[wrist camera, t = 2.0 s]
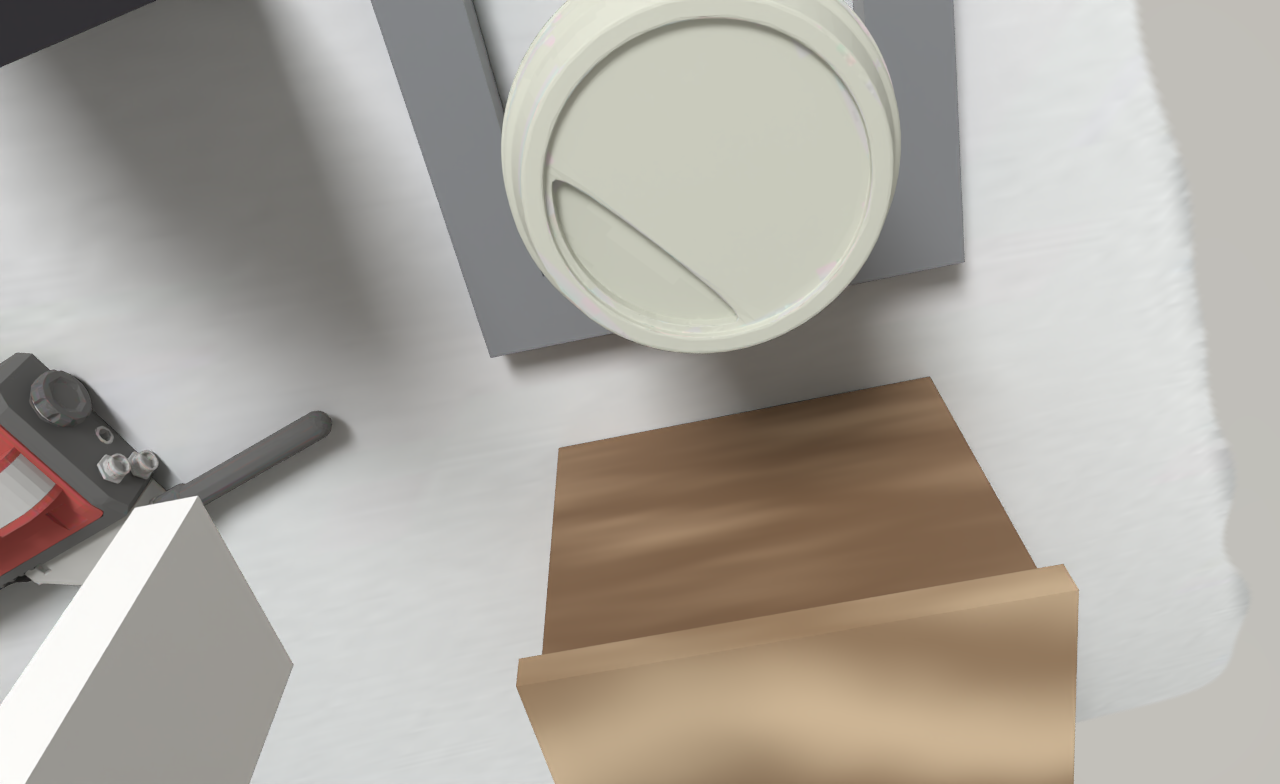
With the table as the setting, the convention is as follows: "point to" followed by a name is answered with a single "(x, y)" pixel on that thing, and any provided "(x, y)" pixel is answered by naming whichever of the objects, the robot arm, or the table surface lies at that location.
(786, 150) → the coffee cup
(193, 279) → the table surface
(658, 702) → the riser
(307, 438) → the walkie-talkie
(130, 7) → the calculator
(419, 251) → the table surface
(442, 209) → the socket
